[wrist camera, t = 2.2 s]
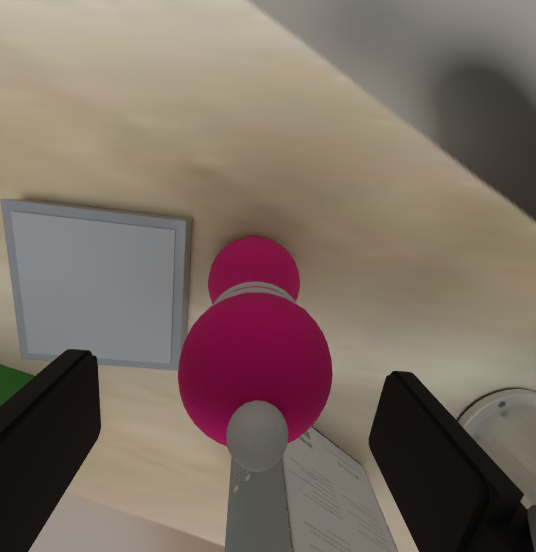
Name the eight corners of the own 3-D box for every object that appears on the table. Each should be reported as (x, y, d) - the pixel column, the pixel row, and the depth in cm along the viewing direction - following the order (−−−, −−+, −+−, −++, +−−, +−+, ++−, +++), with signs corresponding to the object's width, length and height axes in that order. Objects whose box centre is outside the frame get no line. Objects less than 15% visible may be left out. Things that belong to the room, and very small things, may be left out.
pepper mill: (305, 252, 26) (451, 403, 7) (270, 315, 28) (310, 581, 8) (235, 216, 25) (179, 282, 6) (203, 285, 26) (74, 518, 7)
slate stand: (192, 218, 25) (185, 221, 22) (185, 355, 28) (178, 371, 26) (26, 198, 24) (-2, 199, 21) (42, 344, 27) (19, 360, 25)
